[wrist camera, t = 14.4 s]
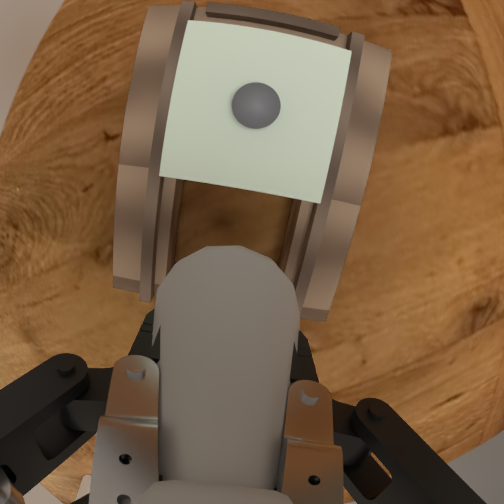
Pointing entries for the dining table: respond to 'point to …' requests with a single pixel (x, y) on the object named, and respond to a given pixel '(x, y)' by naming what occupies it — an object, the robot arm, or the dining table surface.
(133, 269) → the board
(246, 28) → the cover
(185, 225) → the dining table surface
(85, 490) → the cylindrical container
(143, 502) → the salt shaker
